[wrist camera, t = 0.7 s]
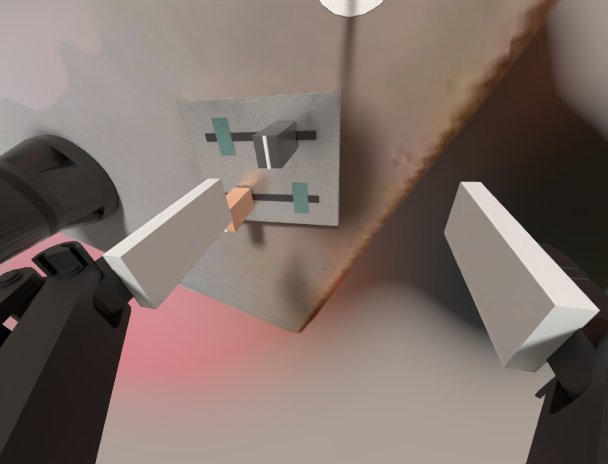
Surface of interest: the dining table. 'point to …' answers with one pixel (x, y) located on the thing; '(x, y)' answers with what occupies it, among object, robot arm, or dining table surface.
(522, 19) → the dining table surface
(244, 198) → the block
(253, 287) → the dining table surface
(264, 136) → the fader black
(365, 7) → the wineglass
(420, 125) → the dining table surface
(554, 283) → the robot arm
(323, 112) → the console
